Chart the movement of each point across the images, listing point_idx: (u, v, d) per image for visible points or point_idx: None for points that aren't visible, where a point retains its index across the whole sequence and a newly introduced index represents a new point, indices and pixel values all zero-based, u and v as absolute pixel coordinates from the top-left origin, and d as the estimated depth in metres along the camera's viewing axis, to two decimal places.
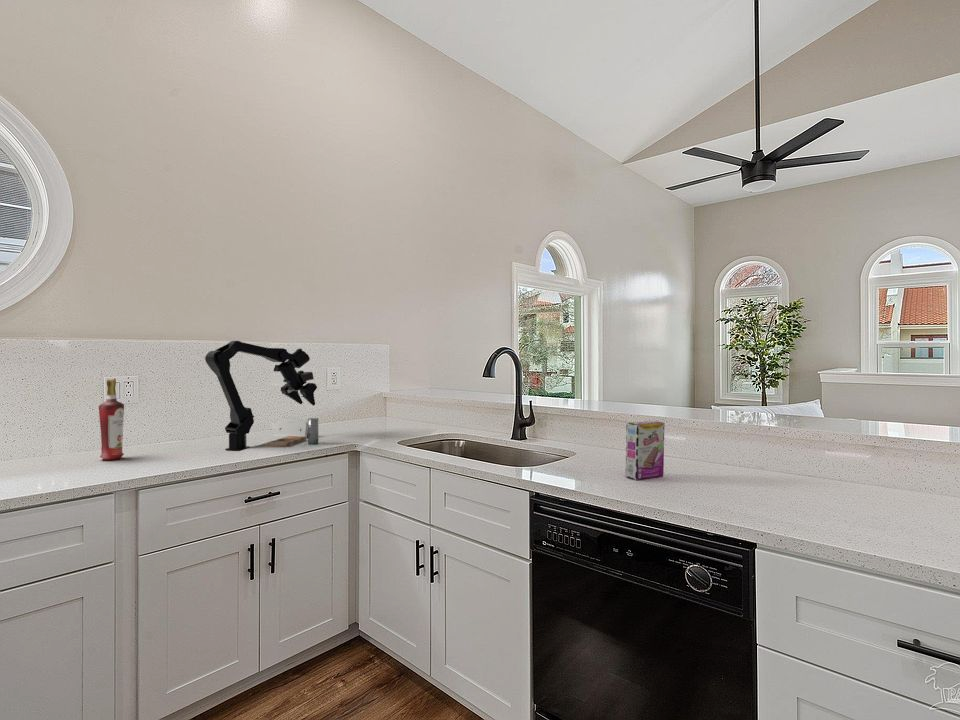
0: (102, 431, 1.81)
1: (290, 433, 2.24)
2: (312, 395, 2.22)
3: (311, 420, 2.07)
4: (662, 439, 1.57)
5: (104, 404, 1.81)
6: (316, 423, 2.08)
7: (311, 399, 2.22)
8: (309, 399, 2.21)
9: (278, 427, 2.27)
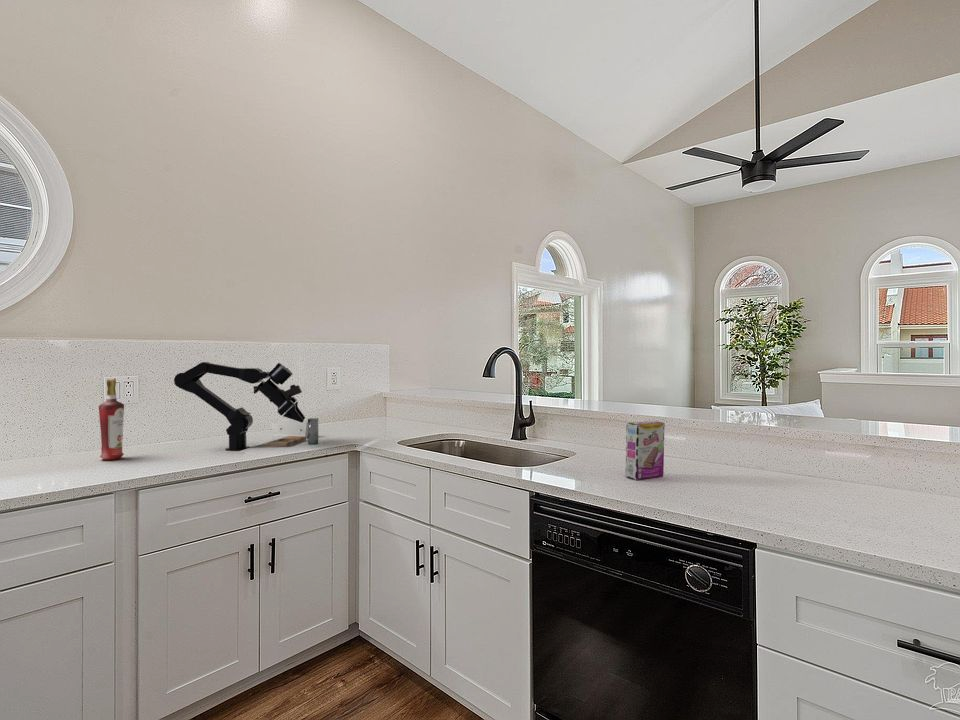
0: (102, 431, 1.81)
1: (290, 433, 2.24)
2: (295, 412, 2.01)
3: (311, 420, 2.07)
4: (663, 439, 1.57)
5: (104, 404, 1.81)
6: (316, 423, 2.08)
7: (295, 417, 2.01)
8: (292, 417, 2.01)
9: (279, 427, 2.27)
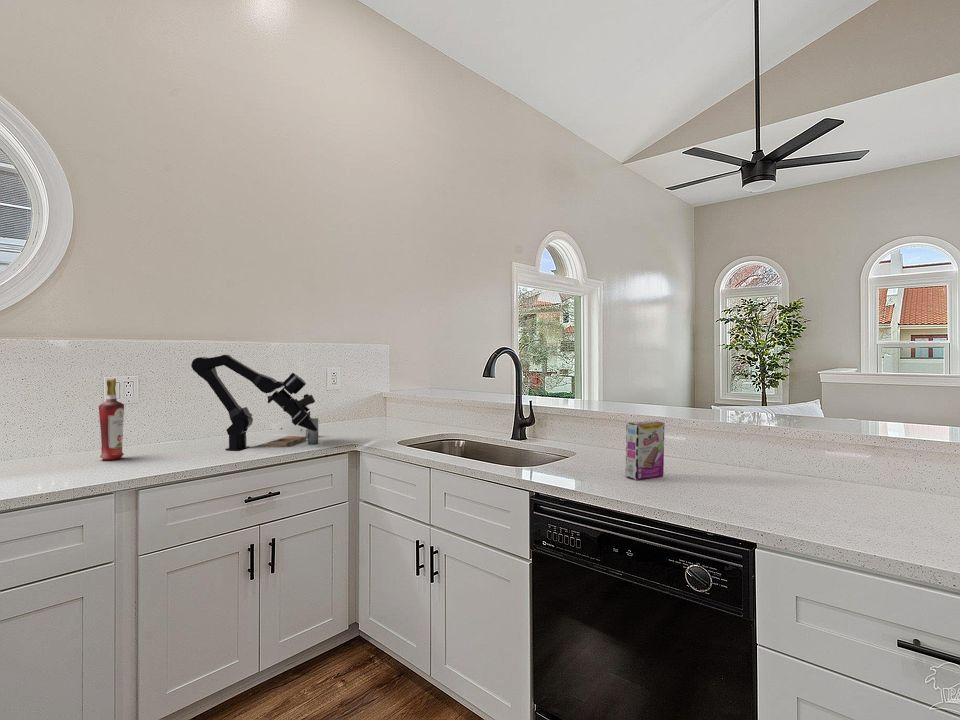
0: (102, 431, 1.81)
1: (291, 433, 2.24)
2: (309, 421, 2.05)
3: (311, 420, 2.07)
4: (662, 439, 1.57)
5: (104, 404, 1.81)
6: (316, 423, 2.08)
7: (309, 425, 2.05)
8: (306, 426, 2.05)
9: (279, 427, 2.28)
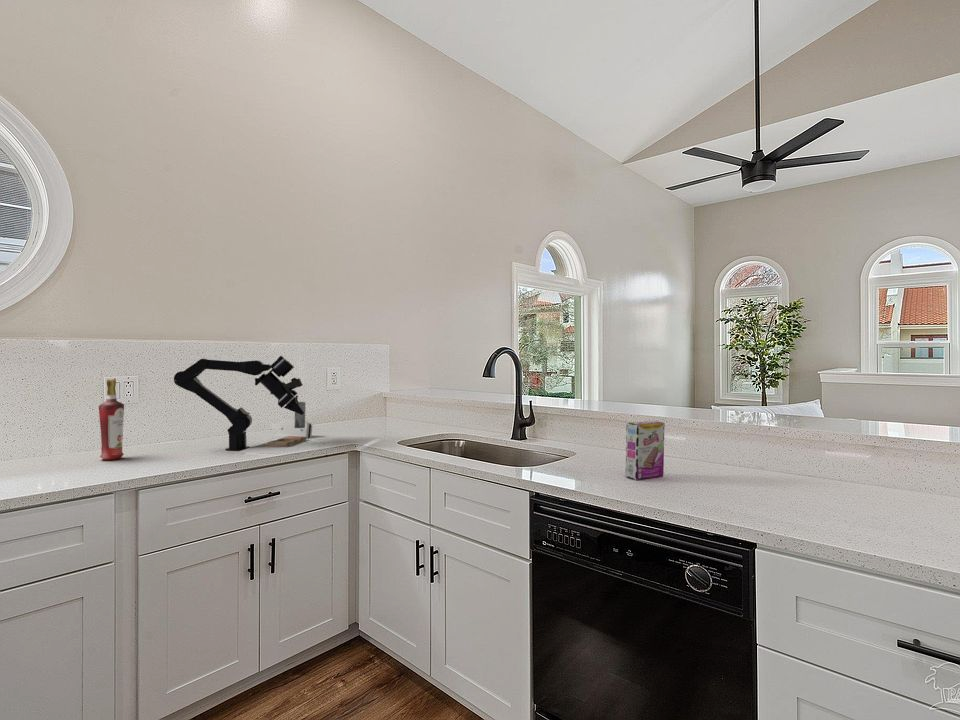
0: (102, 431, 1.81)
1: (291, 433, 2.25)
2: (295, 404, 2.05)
3: (298, 403, 2.07)
4: (663, 439, 1.57)
5: (104, 404, 1.81)
6: (303, 406, 2.08)
7: (295, 409, 2.05)
8: (292, 409, 2.05)
9: (280, 427, 2.28)
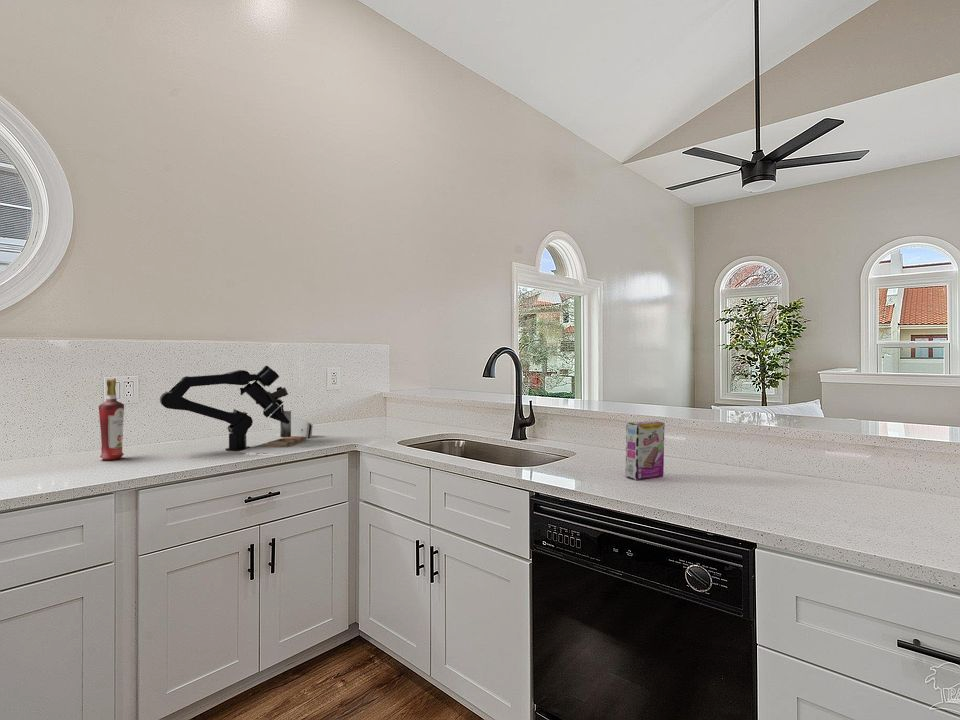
0: (102, 431, 1.81)
1: (292, 433, 2.25)
2: (281, 414, 2.05)
3: (283, 412, 2.07)
4: (663, 439, 1.57)
5: (104, 404, 1.81)
6: (289, 416, 2.08)
7: (281, 418, 2.06)
8: (278, 418, 2.05)
9: None
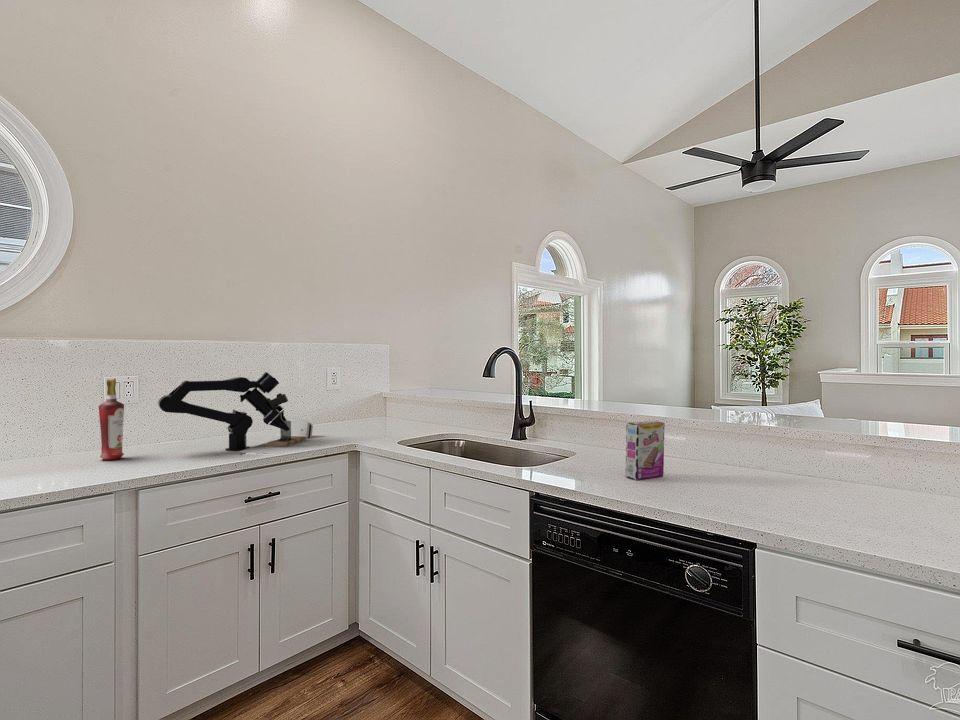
0: (102, 431, 1.81)
1: (292, 433, 2.25)
2: (281, 421, 2.04)
3: None
4: (663, 439, 1.57)
5: (104, 404, 1.81)
6: (289, 425, 2.08)
7: (281, 425, 2.04)
8: (278, 426, 2.04)
9: None
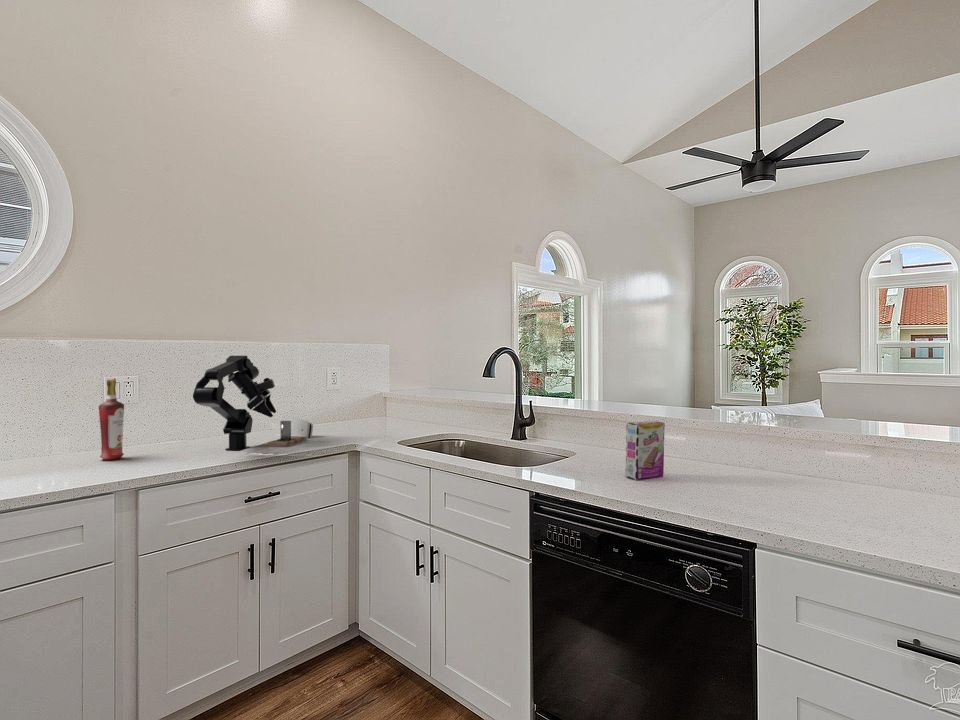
0: (102, 431, 1.81)
1: (292, 433, 2.25)
2: (264, 407, 2.03)
3: (283, 422, 2.07)
4: (663, 439, 1.57)
5: (104, 404, 1.81)
6: (289, 425, 2.08)
7: (264, 411, 2.03)
8: (261, 411, 2.03)
9: None
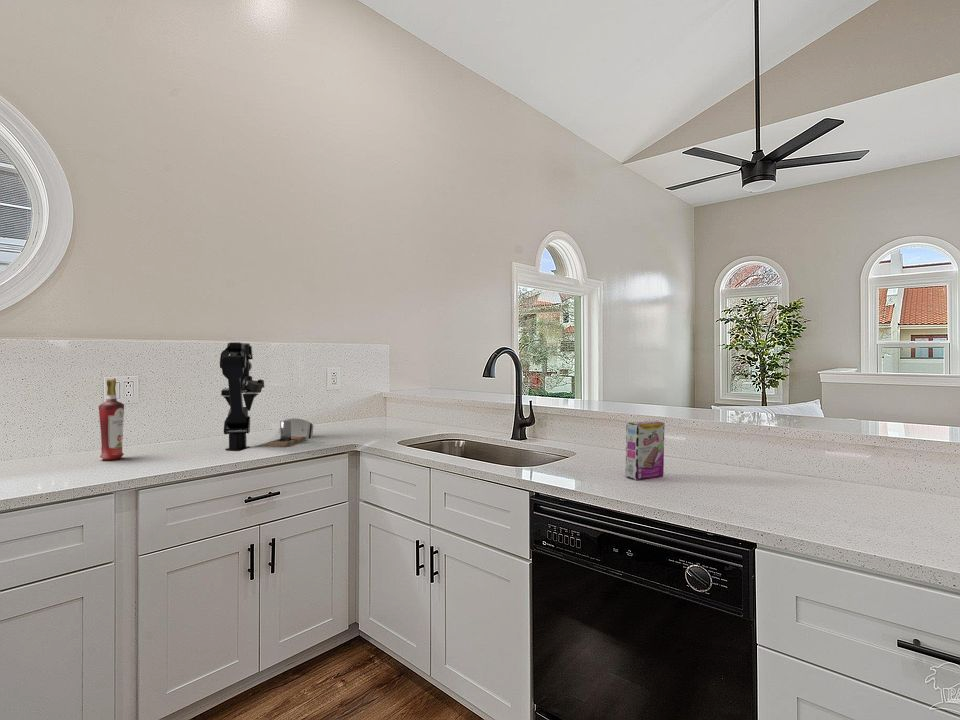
0: (102, 431, 1.81)
1: (293, 433, 2.25)
2: None
3: (283, 422, 2.07)
4: (663, 439, 1.57)
5: (104, 404, 1.81)
6: (289, 425, 2.08)
7: None
8: (229, 403, 2.10)
9: None
